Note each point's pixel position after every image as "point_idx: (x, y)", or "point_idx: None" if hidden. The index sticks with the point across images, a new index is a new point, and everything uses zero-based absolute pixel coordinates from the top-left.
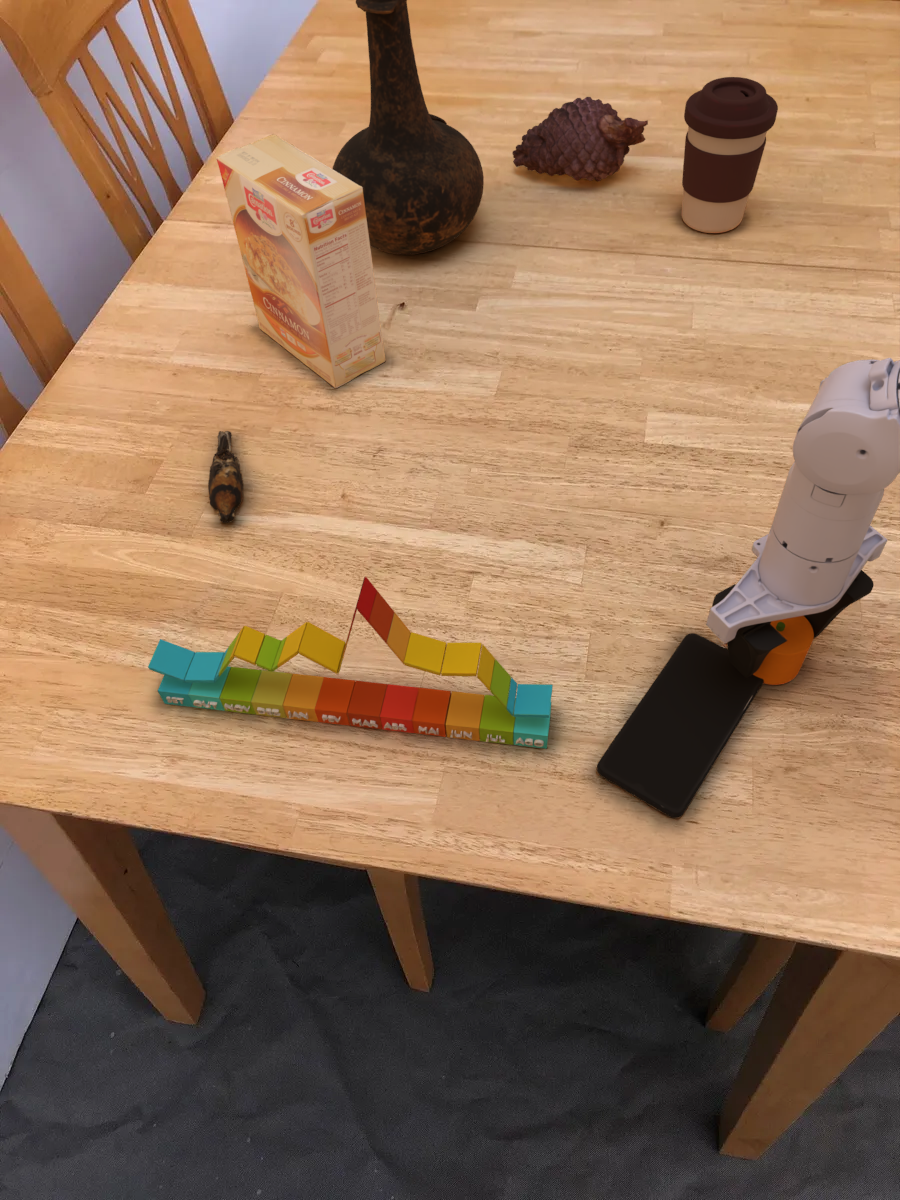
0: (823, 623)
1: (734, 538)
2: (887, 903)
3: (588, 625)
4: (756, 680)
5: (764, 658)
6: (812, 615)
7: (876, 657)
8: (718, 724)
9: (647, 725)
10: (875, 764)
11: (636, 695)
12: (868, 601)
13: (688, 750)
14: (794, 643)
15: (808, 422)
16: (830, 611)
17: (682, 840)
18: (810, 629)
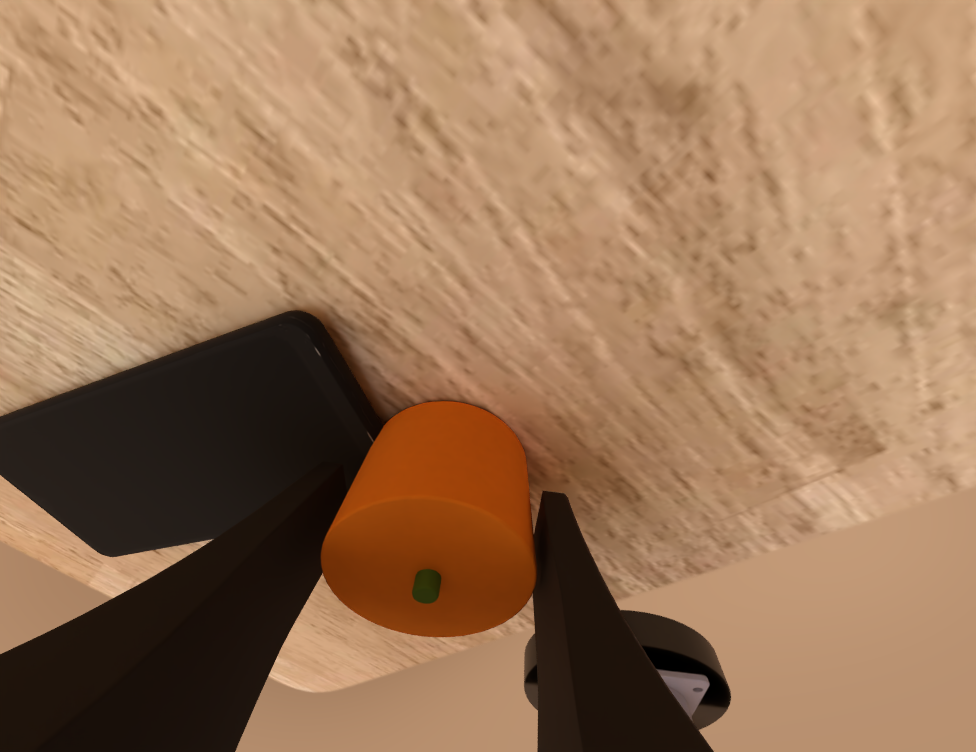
0: (537, 651)
1: (840, 7)
2: (335, 688)
3: (6, 25)
4: None
5: (291, 625)
6: (542, 619)
7: (642, 573)
8: (237, 513)
9: (84, 439)
10: (454, 638)
11: (119, 347)
12: (798, 505)
13: (157, 511)
14: (425, 617)
15: None
16: (539, 745)
17: (128, 554)
18: (507, 614)
